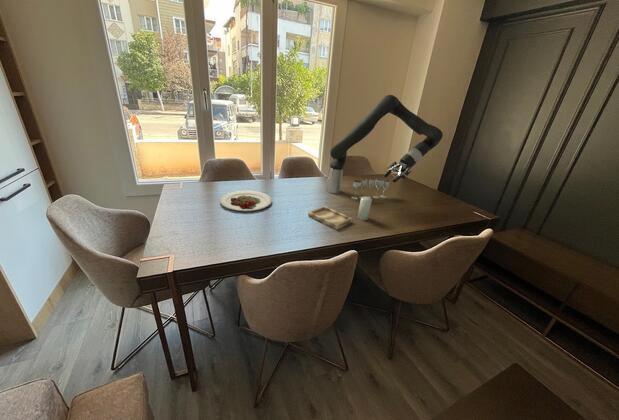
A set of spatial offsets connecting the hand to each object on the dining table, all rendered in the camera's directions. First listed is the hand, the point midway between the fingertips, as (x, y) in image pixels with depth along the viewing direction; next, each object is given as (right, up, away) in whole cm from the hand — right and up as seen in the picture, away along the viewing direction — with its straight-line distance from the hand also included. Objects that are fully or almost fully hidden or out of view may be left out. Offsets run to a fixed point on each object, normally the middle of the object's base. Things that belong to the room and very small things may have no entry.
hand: (388, 178), depth 140 cm
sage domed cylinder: (-13, -22, +6) cm, 26 cm away
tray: (-33, -22, +1) cm, 40 cm away
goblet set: (-2, -9, +37) cm, 38 cm away
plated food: (-82, -13, +13) cm, 84 cm away
